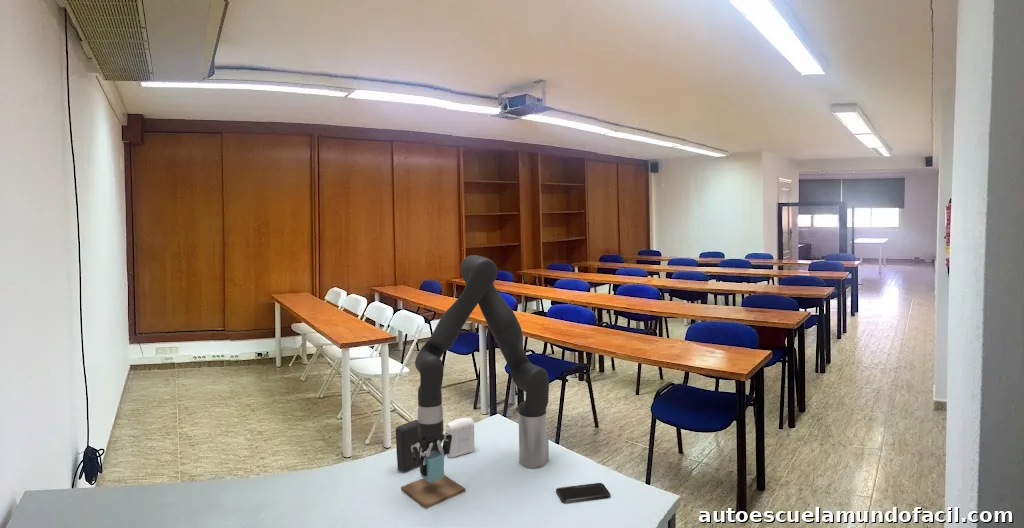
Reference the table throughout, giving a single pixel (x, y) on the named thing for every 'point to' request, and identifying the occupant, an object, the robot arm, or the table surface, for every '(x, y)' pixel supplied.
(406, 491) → the walnut board
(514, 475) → the table surface
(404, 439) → the card reader
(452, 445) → the photo printer
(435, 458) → the teal block
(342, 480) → the table surface
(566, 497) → the phone
